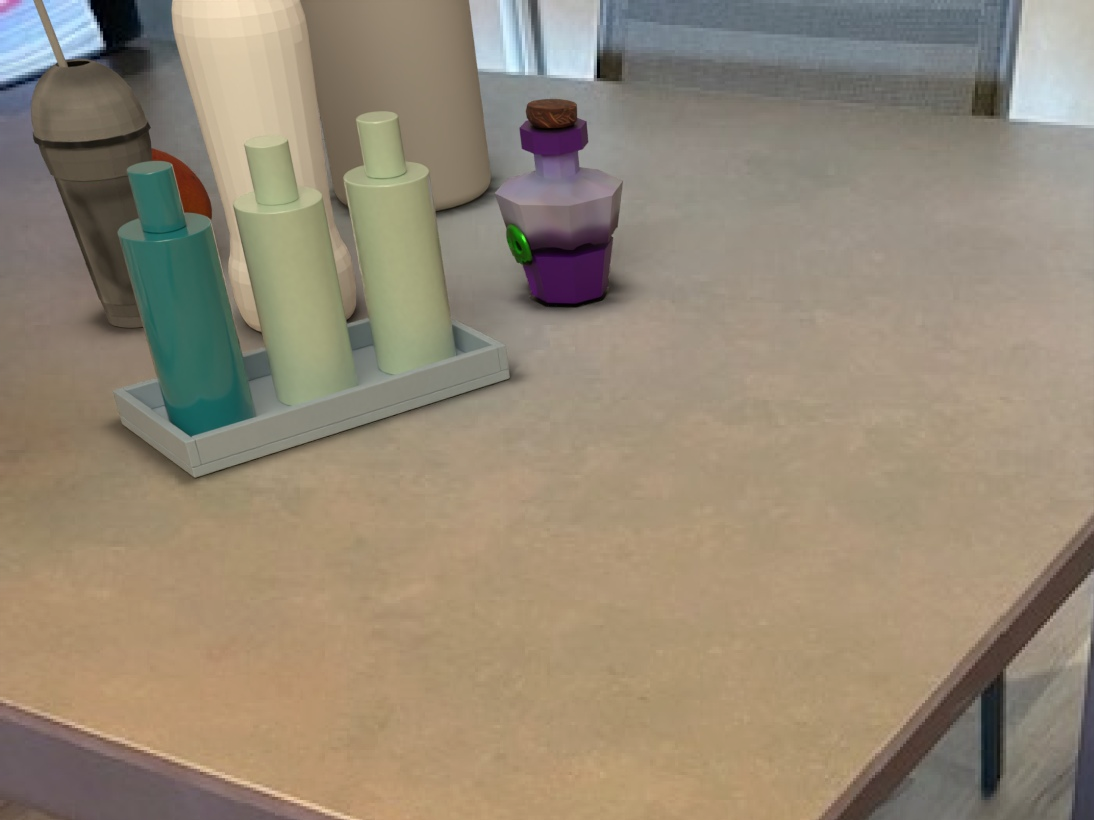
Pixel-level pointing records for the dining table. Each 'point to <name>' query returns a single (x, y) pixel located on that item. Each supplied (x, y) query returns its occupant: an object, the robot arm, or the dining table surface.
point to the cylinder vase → (402, 87)
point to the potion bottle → (560, 210)
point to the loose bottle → (184, 306)
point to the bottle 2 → (293, 277)
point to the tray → (312, 402)
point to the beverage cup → (93, 163)
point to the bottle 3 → (398, 250)
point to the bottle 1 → (255, 109)
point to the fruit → (187, 185)
